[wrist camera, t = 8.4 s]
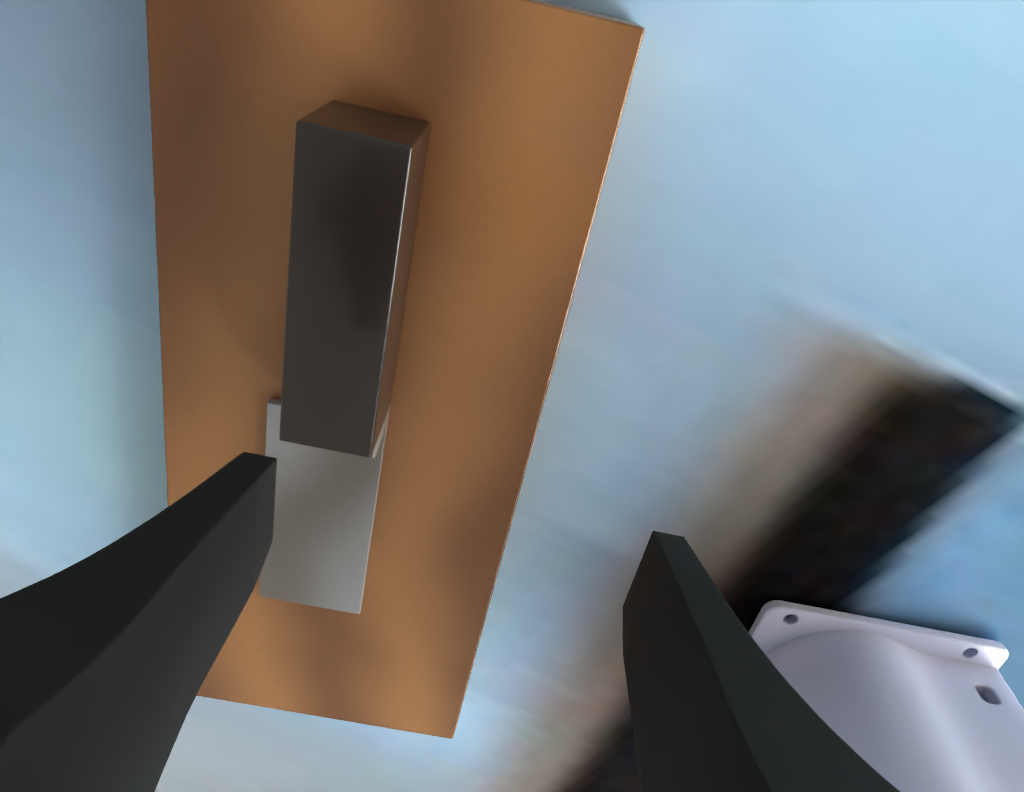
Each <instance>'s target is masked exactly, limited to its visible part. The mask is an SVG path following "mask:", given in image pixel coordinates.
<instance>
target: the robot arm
mask: <svg viewBox="0 0 1024 792" xmlns="http://www.w3.org/2000/svg"><path fill="white" fill-rule="evenodd" d="M276 469H277V458H274V457H269V456H264V455H259V454H254V453H248V452H243V453H241V454H240V455H238V456H237V457H235V458H234V459H233V460H231V461H230V462H229V463H227V464H226V465H225V466H223V467H222V468H221V469H219V470H218V471H217V472H216V473H214V474H213V475H212V476H210V477H209V478H208V479H206V480H205V481H204V482H202V483H201V484H199V485H198V486H197V487H195V488H194V489H193V490H191V491H190V492H189V493H187V494H186V495H184V496H183V497H181V498H180V499H179V500H177V501H176V502H174V503H173V504H172V505H170V506H169V507H167V508H166V509H164V510H163V511H162V512H160V513H159V514H157V515H156V516H154V517H153V518H151V519H150V520H148V521H147V522H145V523H143V524H142V525H140V526H139V527H137V528H135V529H134V530H132V531H131V532H129V533H127V534H126V535H124V536H123V537H121V538H120V539H118V540H116V541H115V542H113V543H111V544H110V545H108V546H106V547H105V548H103V549H101V550H99V551H98V552H96V553H94V554H92V555H91V556H89V557H87V558H85V559H83V560H81V561H80V562H78V563H76V564H74V565H72V566H70V567H68V568H66V569H64V570H62V571H60V572H58V573H56V574H54V575H52V576H50V577H48V578H46V579H43V580H41V581H39V582H37V583H35V584H32V585H30V586H28V587H26V588H23V589H21V590H19V591H17V592H14V593H12V594H10V595H8V596H5V597H3V598H1V599H0V792H154V791H155V789H156V786H157V784H158V781H159V779H160V776H161V774H162V772H163V769H164V767H165V764H166V762H167V760H168V757H169V755H170V753H171V750H172V748H173V745H174V743H175V741H176V738H177V736H178V734H179V731H180V729H181V727H182V724H183V722H184V720H185V717H186V715H187V713H188V711H189V709H190V707H191V705H192V703H193V701H194V699H195V697H196V695H197V693H198V691H199V689H200V687H201V685H202V683H203V682H204V680H205V678H206V676H207V674H208V673H209V671H210V669H211V667H212V665H213V663H214V662H215V660H216V658H217V656H218V654H219V652H220V651H221V649H222V647H223V645H224V643H225V641H226V640H227V638H228V636H229V634H230V632H231V630H232V629H233V627H234V625H235V623H236V621H237V619H238V618H239V616H240V614H241V612H242V610H243V608H244V606H245V605H246V603H247V601H248V599H249V597H250V595H251V593H252V591H253V590H254V587H255V585H256V582H257V580H258V578H259V575H260V573H261V570H262V568H263V565H264V562H265V560H266V557H267V555H268V552H269V549H270V547H271V544H272V541H273V527H274V507H275V488H276ZM787 615H790V616H787ZM1008 656H1009V653H1008V651H1007V649H1006V648H1005V646H1004V645H1003V644H1002V643H1001V642H998V641H993V640H988V639H983V638H977V637H972V636H967V635H962V634H956V633H951V632H946V631H940V630H935V629H930V628H924V627H919V626H914V625H908V624H903V623H898V622H892V621H887V620H882V619H876V618H871V617H866V616H861V615H855V614H850V613H845V612H839V611H834V610H829V609H823V608H818V607H813V606H807V605H802V604H797V603H791V602H786V601H781V600H773V601H769V602H768V603H766V604H765V605H764V606H763V607H762V608H761V610H760V612H759V614H758V616H757V618H756V620H755V621H754V623H753V625H752V627H751V629H750V631H749V632H748V631H747V630H746V628H745V627H744V626H743V624H742V623H741V622H740V620H739V619H738V617H737V616H736V615H735V613H734V612H733V610H732V609H731V607H730V606H729V605H728V603H727V602H726V600H725V599H724V597H723V596H722V594H721V593H720V591H719V590H718V588H717V587H716V585H715V584H714V582H713V581H712V579H711V578H710V576H709V575H708V573H707V572H706V570H705V569H704V567H703V565H702V564H701V562H700V561H699V559H698V558H697V556H696V555H695V553H694V552H693V550H692V548H691V547H690V545H689V544H688V542H687V541H686V540H685V538H684V537H682V536H677V535H672V534H667V533H661V532H656V531H653V532H652V534H651V537H650V539H649V542H648V544H647V547H646V549H645V552H644V554H643V557H642V559H641V562H640V564H639V567H638V569H637V572H636V574H635V577H634V579H633V582H632V584H631V587H630V589H629V592H628V594H627V597H626V599H625V602H624V604H623V657H624V665H625V673H626V680H627V687H628V695H629V702H630V709H631V716H632V723H633V730H634V737H635V744H636V751H637V758H638V765H639V774H640V784H641V792H1024V710H1023V708H1022V706H1021V705H1020V703H1019V702H1018V700H1017V699H1016V697H1015V696H1014V694H1013V692H1012V691H1011V689H1010V688H1009V686H1008V685H1007V683H1006V682H1005V680H1004V678H1003V677H1002V675H1001V674H1000V672H999V671H998V669H999V668H1000V667H1001V666H1002V664H1003V663H1004V662H1005V661H1006V660H1007V658H1008Z"/></svg>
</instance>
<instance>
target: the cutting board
mask: <svg viewBox="0 0 1024 792" xmlns="http://www.w3.org/2000/svg"><path fill="white" fill-rule="evenodd" d="M146 15H147V38H148V61H149V84H150V107H151V130H152V153H153V176H154V198H155V221H156V244H157V267H158V290H159V313H160V336H161V359H162V382H163V405H164V428H165V451H166V473H167V496H168V507H169V506H170V505H172V504H173V503H174V502H176V501H177V500H179V499H180V498H181V497H183V496H184V495H186V494H187V493H189V492H190V491H191V490H193V489H194V488H195V487H197V486H198V485H199V484H201V483H202V482H204V481H205V480H206V479H208V478H209V477H210V476H212V475H213V474H214V473H216V472H217V471H218V470H219V469H221V468H222V467H223V466H225V465H226V464H227V463H229V462H230V461H231V460H233V459H234V458H235V457H237V456H238V455H240V454H241V453H243V452H248V453H254V454H259V455H264V456H265V448H266V424H267V403H268V401H269V400H270V398H273V399H278V400H281V395H282V377H283V358H284V339H285V320H286V302H287V283H288V264H289V246H290V227H291V208H292V189H293V171H294V152H295V133H296V122H297V121H298V120H299V119H301V118H303V117H305V116H306V115H308V114H310V113H311V112H313V111H315V110H316V109H318V108H320V107H321V106H323V105H325V104H326V103H328V102H330V101H332V100H335V101H339V102H344V103H348V104H353V105H357V106H362V107H366V108H370V109H375V110H379V111H384V112H388V113H393V114H397V115H401V116H406V117H410V118H415V119H419V120H424V121H428V122H429V123H430V124H431V128H430V135H429V142H428V149H427V156H426V163H425V170H424V177H423V184H422V191H421V198H420V205H419V212H418V219H417V226H416V232H415V239H414V246H413V253H412V260H411V267H410V274H409V281H408V288H407V295H406V302H405V309H404V316H403V323H402V330H401V336H400V343H399V350H398V357H397V364H396V371H395V378H394V385H393V392H392V399H391V404H390V413H389V420H388V428H387V435H386V442H385V449H384V455H383V462H382V469H381V476H380V483H379V490H378V497H377V504H376V511H375V518H374V525H373V532H372V539H371V546H370V552H369V559H368V566H367V573H366V580H365V587H364V594H363V601H362V608H361V612H360V614H355V613H349V612H344V611H338V610H333V609H327V608H321V607H316V606H310V605H305V604H299V603H294V602H288V601H282V600H277V599H271V598H266V597H260V596H259V590H260V575H259V578H258V580H257V582H256V585H255V587H254V590H253V591H252V593H251V595H250V597H249V599H248V601H247V603H246V605H245V606H244V608H243V610H242V612H241V614H240V616H239V618H238V619H237V621H236V623H235V625H234V627H233V629H232V630H231V632H230V634H229V636H228V638H227V640H226V641H225V643H224V645H223V647H222V649H221V651H220V652H219V654H218V656H217V658H216V660H215V662H214V663H213V665H212V667H211V669H210V671H209V673H208V674H207V676H206V678H205V680H204V682H203V683H202V685H201V687H200V689H199V691H198V693H197V696H203V697H209V698H215V699H221V700H226V701H232V702H238V703H244V704H250V705H256V706H262V707H268V708H274V709H279V710H285V711H291V712H297V713H303V714H309V715H315V716H321V717H327V718H333V719H338V720H344V721H350V722H356V723H362V724H368V725H374V726H380V727H386V728H392V729H397V730H403V731H409V732H415V733H421V734H427V735H433V736H439V737H445V738H451V739H452V738H453V736H454V733H455V729H456V725H457V722H458V718H459V714H460V710H461V707H462V703H463V699H464V696H465V692H466V688H467V685H468V681H469V677H470V674H471V670H472V666H473V662H474V659H475V655H476V651H477V648H478V644H479V640H480V637H481V633H482V629H483V626H484V622H485V618H486V614H487V611H488V607H489V603H490V600H491V596H492V592H493V589H494V585H495V581H496V578H497V574H498V570H499V566H500V563H501V559H502V555H503V552H504V548H505V544H506V541H507V537H508V533H509V529H510V526H511V522H512V518H513V515H514V511H515V507H516V504H517V500H518V496H519V493H520V489H521V485H522V481H523V478H524V474H525V470H526V467H527V463H528V459H529V456H530V452H531V448H532V445H533V441H534V437H535V433H536V430H537V426H538V422H539V419H540V415H541V411H542V408H543V404H544V400H545V396H546V393H547V389H548V385H549V382H550V378H551V374H552V371H553V367H554V363H555V360H556V356H557V352H558V348H559V345H560V341H561V337H562V334H563V330H564V326H565V323H566V319H567V315H568V312H569V308H570V304H571V300H572V297H573V293H574V289H575V286H576V282H577V278H578V275H579V271H580V267H581V264H582V260H583V256H584V252H585V249H586V245H587V241H588V238H589V234H590V230H591V227H592V223H593V219H594V215H595V212H596V208H597V204H598V201H599V197H600V193H601V190H602V186H603V182H604V179H605V175H606V171H607V167H608V164H609V160H610V156H611V153H612V149H613V145H614V142H615V138H616V134H617V131H618V127H619V123H620V119H621V116H622V112H623V108H624V105H625V101H626V97H627V94H628V90H629V86H630V82H631V79H632V75H633V71H634V68H635V64H636V60H637V57H638V53H639V49H640V46H641V42H642V38H643V34H644V28H643V27H642V26H640V25H638V24H637V23H635V22H631V21H627V20H623V19H619V18H615V17H610V16H606V15H602V14H598V13H594V12H590V11H585V10H581V9H577V8H573V7H569V6H565V5H560V4H556V3H552V2H548V1H544V0H146Z"/></svg>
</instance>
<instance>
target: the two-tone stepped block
mask: <svg viewBox="0 0 1024 792" xmlns="http://www.w3.org/2000/svg"><path fill="white" fill-rule="evenodd" d="M430 128H431V124H430V123H429V122H428V121H424V120H419V119H415V118H410V117H406V116H401V115H397V114H393V113H388V112H384V111H379V110H375V109H370V108H366V107H362V106H357V105H353V104H348V103H344V102H339V101H335V100H332V101H330V102H328V103H326V104H325V105H323V106H321V107H320V108H318V109H316V110H315V111H313V112H311V113H310V114H308V115H306V116H305V117H303V118H301V119H299V120H298V121H297V122H296V133H295V152H294V171H293V189H292V208H291V227H290V246H289V264H288V283H287V302H286V320H285V339H284V358H283V377H282V395H281V400H278V399H273V398H270V400H269V401H268V403H267V424H266V448H265V456H269V457H274V458H277V469H276V488H275V507H274V527H273V541H272V544H271V547H270V549H269V552H268V555H267V557H266V560H265V562H264V565H263V568H262V570H261V573H260V590H259V596H260V597H266V598H271V599H277V600H282V601H288V602H294V603H299V604H305V605H310V606H316V607H321V608H327V609H333V610H338V611H344V612H349V613H355V614H360V612H361V608H362V601H363V594H364V587H365V580H366V573H367V566H368V559H369V552H370V546H371V539H372V532H373V525H374V518H375V511H376V504H377V497H378V490H379V483H380V476H381V469H382V462H383V455H384V449H385V442H386V435H387V428H388V420H389V413H390V404H391V399H392V392H393V385H394V378H395V371H396V364H397V357H398V350H399V343H400V336H401V330H402V323H403V316H404V309H405V302H406V295H407V288H408V281H409V274H410V267H411V260H412V253H413V246H414V239H415V232H416V226H417V219H418V212H419V205H420V198H421V191H422V184H423V177H424V170H425V163H426V156H427V149H428V142H429V135H430Z"/></svg>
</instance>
